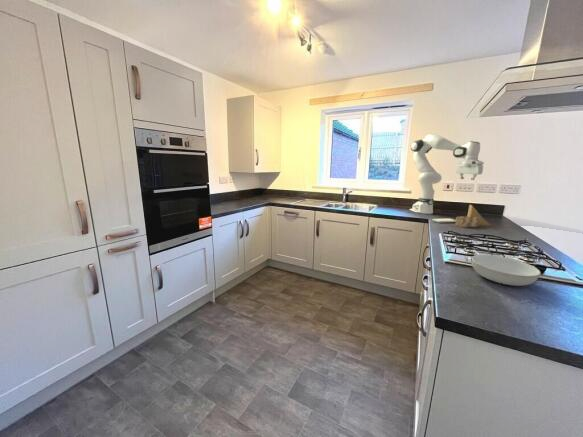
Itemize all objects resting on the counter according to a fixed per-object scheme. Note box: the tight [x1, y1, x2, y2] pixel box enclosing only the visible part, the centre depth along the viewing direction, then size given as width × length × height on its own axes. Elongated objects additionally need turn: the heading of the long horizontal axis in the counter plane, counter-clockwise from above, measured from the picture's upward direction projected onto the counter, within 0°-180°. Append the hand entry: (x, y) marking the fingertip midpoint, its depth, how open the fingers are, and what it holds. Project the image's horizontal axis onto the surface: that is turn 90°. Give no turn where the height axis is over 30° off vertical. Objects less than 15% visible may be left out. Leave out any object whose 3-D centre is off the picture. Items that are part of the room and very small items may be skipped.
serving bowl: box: [471, 254, 542, 287], centre depth 97 cm, size 21×21×7 cm
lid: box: [432, 218, 456, 224], centre depth 197 cm, size 17×7×2 cm, turn 103°
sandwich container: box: [466, 204, 492, 227], centre depth 191 cm, size 9×15×15 cm, turn 66°
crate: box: [454, 215, 480, 228], centre depth 185 cm, size 16×5×7 cm, turn 103°
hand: (467, 179), depth 195 cm, fingers open, 8 cm apart
